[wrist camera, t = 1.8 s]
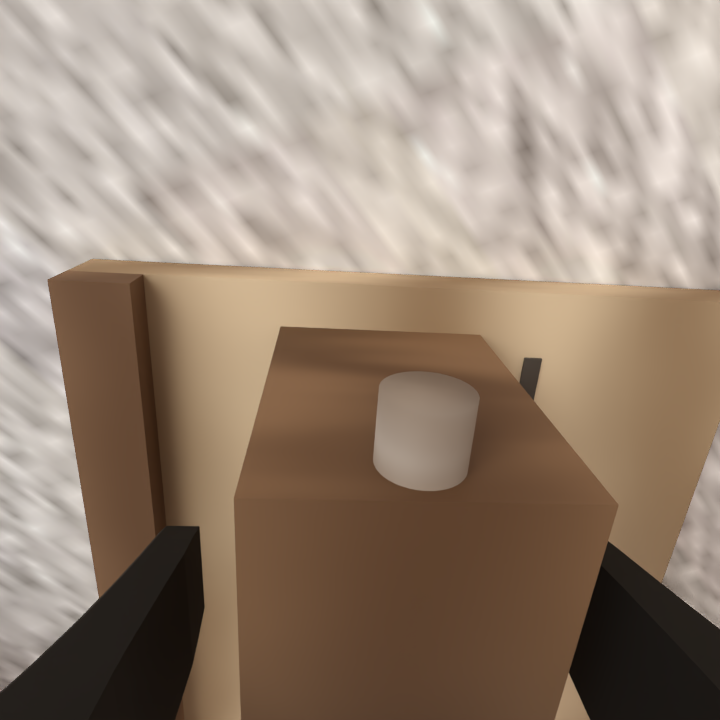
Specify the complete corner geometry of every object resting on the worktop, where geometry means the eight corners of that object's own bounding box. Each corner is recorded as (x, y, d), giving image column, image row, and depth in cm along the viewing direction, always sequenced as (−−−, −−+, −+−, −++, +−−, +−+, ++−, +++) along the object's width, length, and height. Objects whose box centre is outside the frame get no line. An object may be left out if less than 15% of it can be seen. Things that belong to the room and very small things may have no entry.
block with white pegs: (278, 632, 15) (248, 928, 9) (281, 280, 11) (231, 417, 5) (433, 631, 15) (495, 916, 9) (486, 290, 11) (641, 428, 6)
